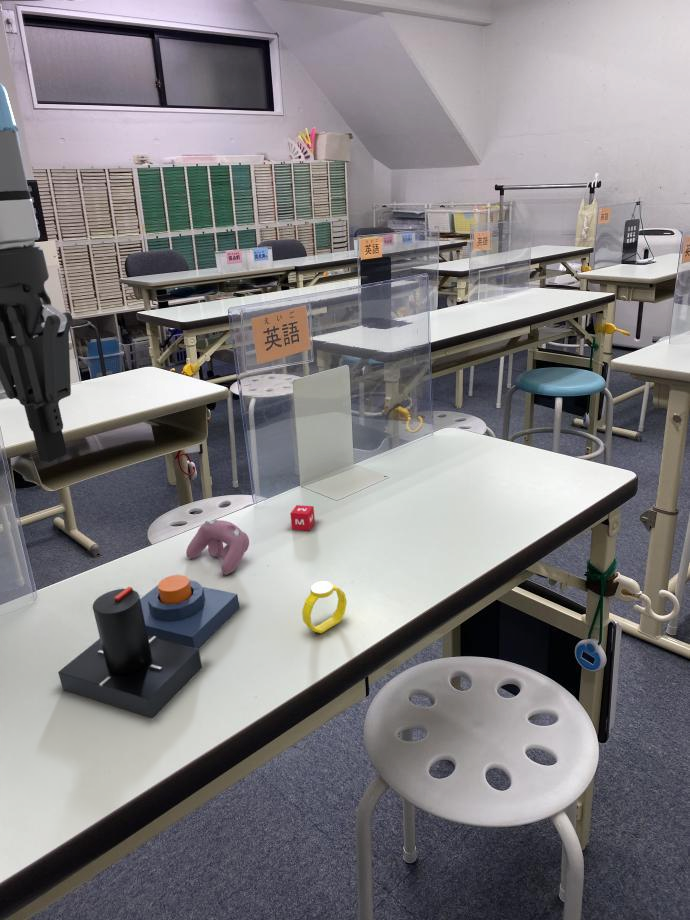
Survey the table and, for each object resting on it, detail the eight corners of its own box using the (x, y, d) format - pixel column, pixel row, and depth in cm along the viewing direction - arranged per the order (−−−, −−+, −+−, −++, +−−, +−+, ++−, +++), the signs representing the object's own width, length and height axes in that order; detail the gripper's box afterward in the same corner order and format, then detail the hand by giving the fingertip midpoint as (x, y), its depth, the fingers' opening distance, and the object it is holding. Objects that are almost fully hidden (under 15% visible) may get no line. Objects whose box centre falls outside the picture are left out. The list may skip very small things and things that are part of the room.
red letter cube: (292, 529, 112) (290, 513, 111) (298, 521, 115) (296, 505, 114) (309, 530, 111) (307, 514, 110) (315, 522, 114) (313, 506, 113)
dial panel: (61, 690, 78) (56, 671, 77) (117, 643, 86) (113, 625, 85) (151, 718, 73) (147, 698, 72) (202, 666, 81) (199, 647, 80)
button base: (119, 632, 88) (113, 606, 87) (168, 592, 97) (163, 567, 95) (194, 652, 83) (189, 624, 82) (239, 607, 92) (235, 582, 90)
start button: (153, 601, 88) (151, 588, 87) (173, 585, 91) (171, 572, 90) (179, 607, 86) (176, 593, 85) (198, 591, 89) (195, 577, 89)
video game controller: (246, 576, 102) (257, 530, 102) (223, 576, 98) (234, 529, 98) (205, 557, 108) (215, 514, 108) (182, 557, 105) (192, 512, 105)
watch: (338, 612, 89) (334, 572, 87) (351, 621, 87) (348, 581, 85) (300, 632, 86) (296, 591, 83) (314, 642, 84) (310, 600, 81)
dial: (131, 678, 75) (117, 615, 72) (97, 668, 77) (81, 606, 74) (160, 651, 80) (148, 590, 77) (127, 642, 82) (113, 582, 79)
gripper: (76, 240, 71) (119, 451, 80) (-10, 244, 77) (38, 441, 85) (18, 247, 65) (71, 475, 74) (-72, 251, 71) (-13, 463, 79)
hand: (53, 457), depth 80 cm, fingers closed
